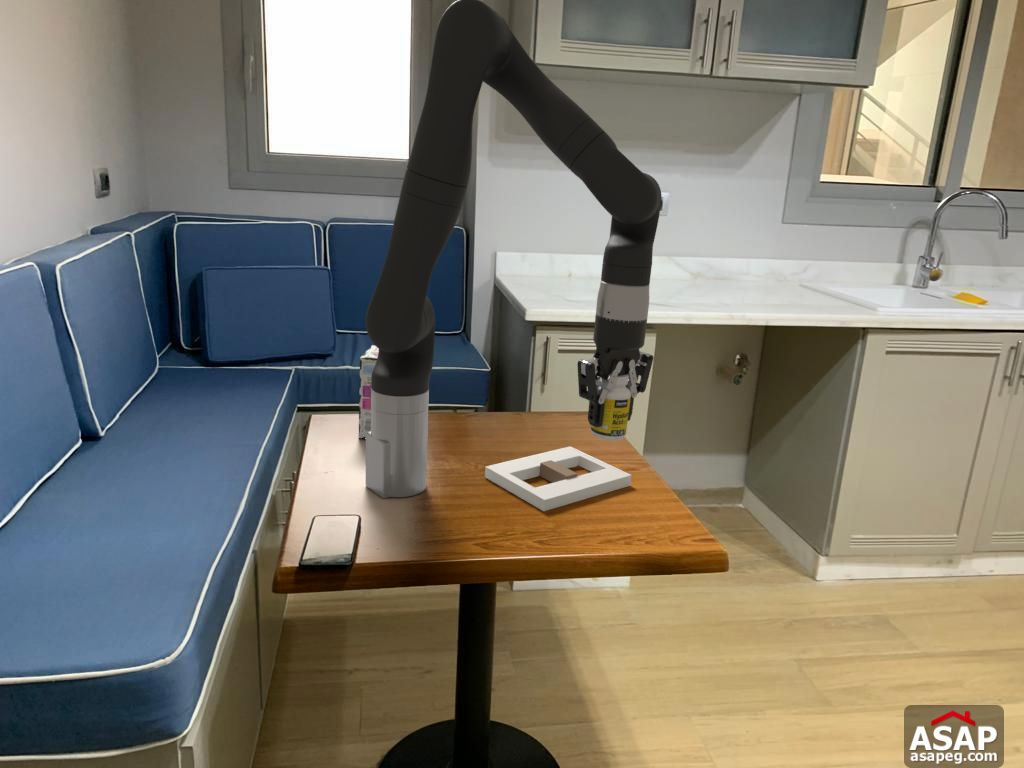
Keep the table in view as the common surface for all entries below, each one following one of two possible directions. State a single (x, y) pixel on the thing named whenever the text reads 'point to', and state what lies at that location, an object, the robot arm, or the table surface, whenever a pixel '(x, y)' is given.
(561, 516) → the table surface
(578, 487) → the white frame
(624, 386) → the supplement bottle
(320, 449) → the table surface
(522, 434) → the table surface
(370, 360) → the candy bar box
